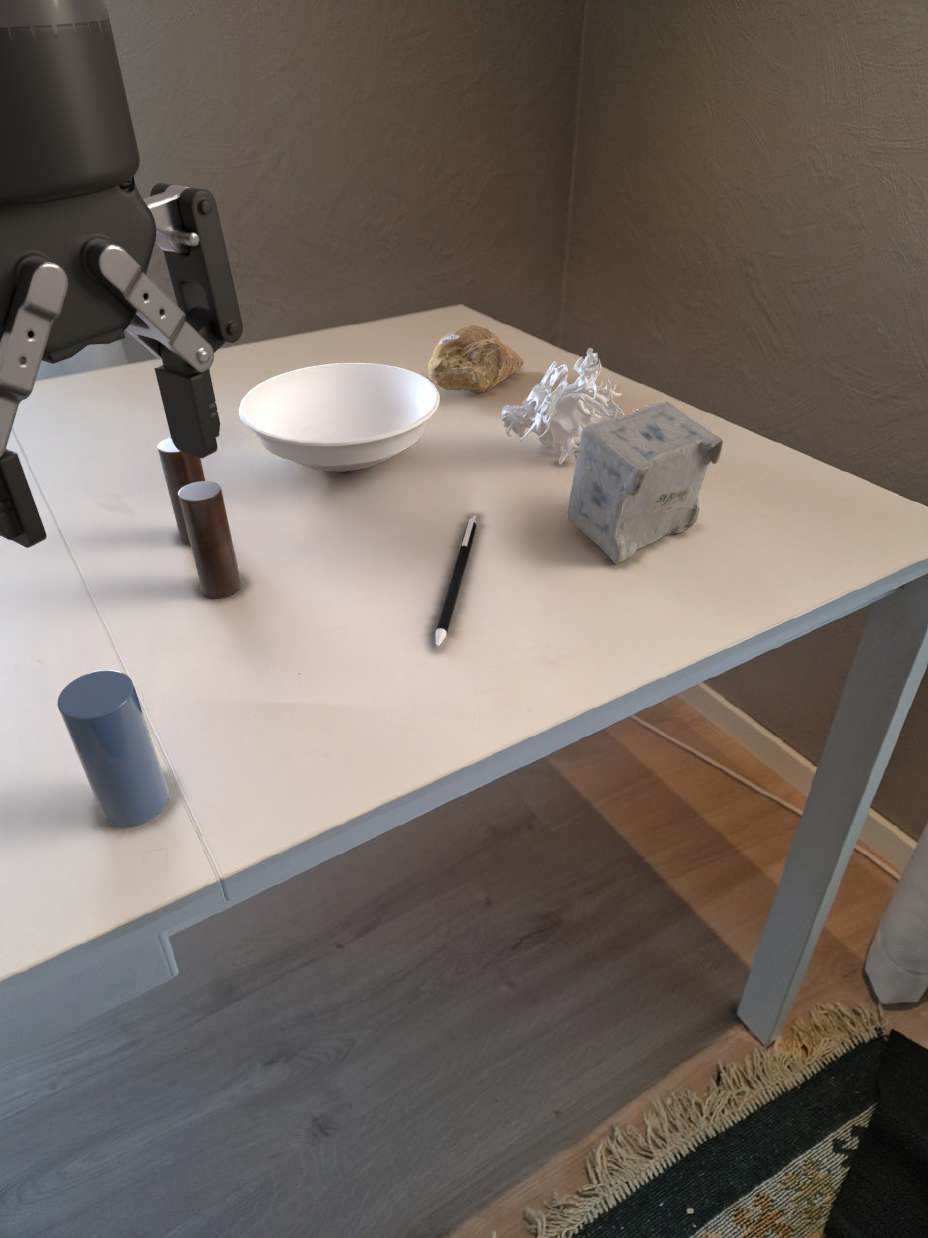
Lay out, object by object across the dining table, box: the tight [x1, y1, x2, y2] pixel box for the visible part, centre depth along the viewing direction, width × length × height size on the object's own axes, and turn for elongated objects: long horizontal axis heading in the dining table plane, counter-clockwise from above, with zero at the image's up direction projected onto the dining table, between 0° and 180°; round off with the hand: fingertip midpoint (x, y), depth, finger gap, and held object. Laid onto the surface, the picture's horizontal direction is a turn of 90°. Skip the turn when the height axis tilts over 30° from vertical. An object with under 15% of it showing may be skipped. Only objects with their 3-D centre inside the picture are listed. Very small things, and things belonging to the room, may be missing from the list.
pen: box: [434, 514, 478, 648], centre depth 72 cm, size 1×19×1 cm, turn 171°
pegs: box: [157, 437, 242, 599], centre depth 72 cm, size 3×12×9 cm, turn 25°
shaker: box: [56, 669, 170, 828], centre depth 50 cm, size 4×4×9 cm
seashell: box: [427, 324, 524, 394], centre depth 102 cm, size 14×8×8 cm
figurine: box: [500, 347, 650, 466], centre depth 87 cm, size 13×15×12 cm
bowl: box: [238, 362, 441, 473], centre depth 88 cm, size 20×20×6 cm
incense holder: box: [566, 401, 724, 565], centre depth 74 cm, size 10×8×10 cm
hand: (116, 491), depth 35 cm, fingers open, 8 cm apart
